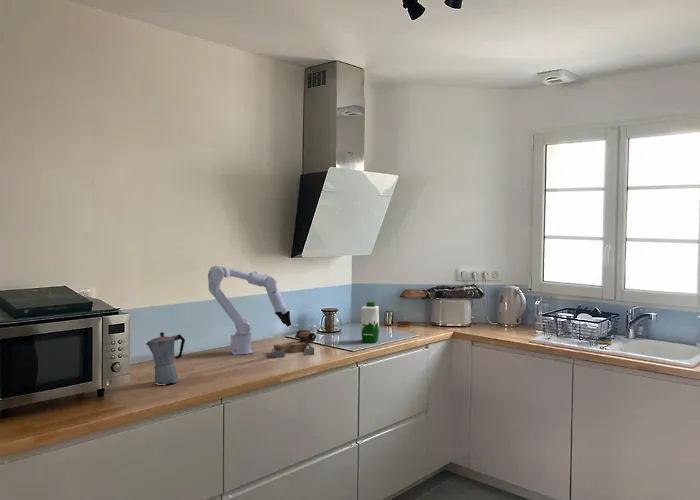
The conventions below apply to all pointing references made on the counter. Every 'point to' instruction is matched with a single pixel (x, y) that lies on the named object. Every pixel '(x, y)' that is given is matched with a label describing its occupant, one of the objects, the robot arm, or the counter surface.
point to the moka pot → (165, 358)
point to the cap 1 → (278, 353)
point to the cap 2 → (309, 350)
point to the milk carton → (370, 323)
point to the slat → (291, 347)
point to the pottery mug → (305, 336)
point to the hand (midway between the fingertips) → (287, 324)
